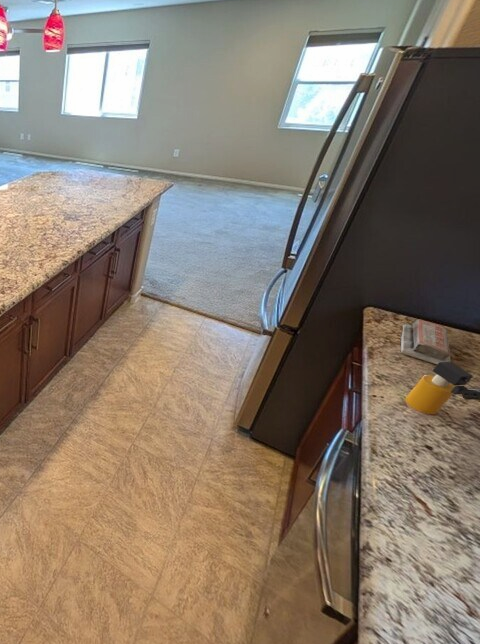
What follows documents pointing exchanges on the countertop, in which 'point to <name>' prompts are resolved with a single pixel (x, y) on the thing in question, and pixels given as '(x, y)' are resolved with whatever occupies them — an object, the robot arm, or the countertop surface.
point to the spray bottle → (437, 387)
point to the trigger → (458, 389)
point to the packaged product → (425, 341)
